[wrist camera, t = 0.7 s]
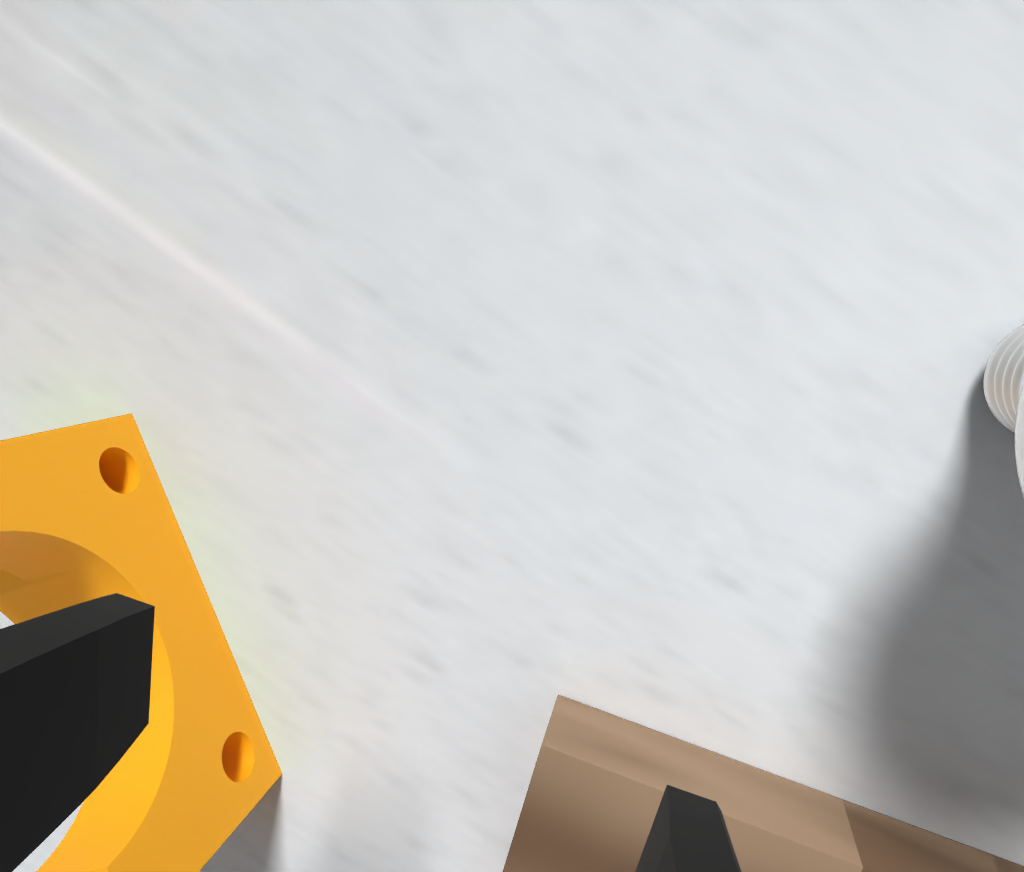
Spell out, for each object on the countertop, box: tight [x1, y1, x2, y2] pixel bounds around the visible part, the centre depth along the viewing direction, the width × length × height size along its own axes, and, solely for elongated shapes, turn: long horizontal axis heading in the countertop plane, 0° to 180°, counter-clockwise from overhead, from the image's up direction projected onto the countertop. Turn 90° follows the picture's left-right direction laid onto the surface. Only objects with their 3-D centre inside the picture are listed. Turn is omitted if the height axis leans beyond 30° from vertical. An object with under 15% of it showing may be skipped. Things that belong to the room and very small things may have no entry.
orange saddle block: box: [0, 414, 282, 872], centre depth 20 cm, size 12×4×6 cm, turn 21°
